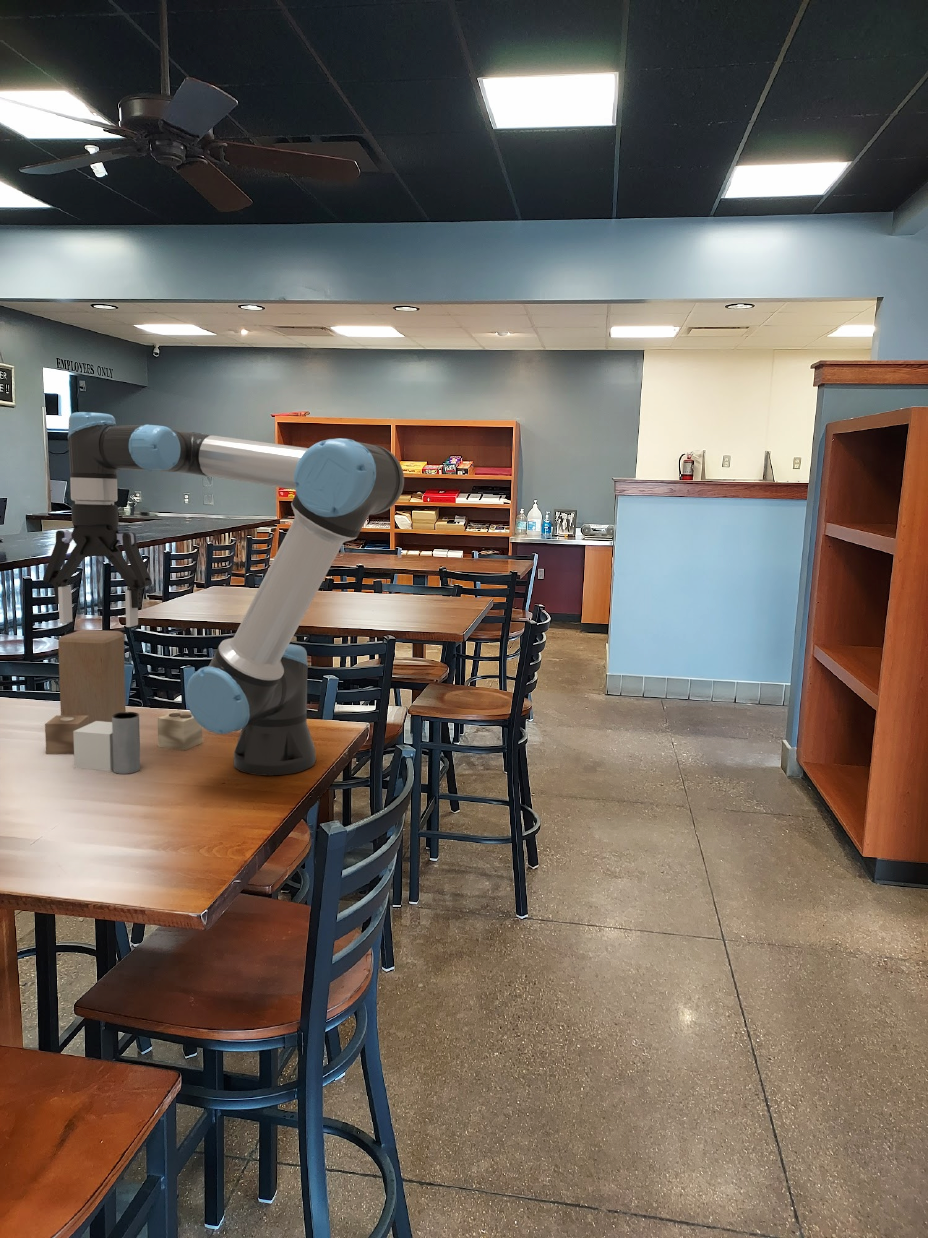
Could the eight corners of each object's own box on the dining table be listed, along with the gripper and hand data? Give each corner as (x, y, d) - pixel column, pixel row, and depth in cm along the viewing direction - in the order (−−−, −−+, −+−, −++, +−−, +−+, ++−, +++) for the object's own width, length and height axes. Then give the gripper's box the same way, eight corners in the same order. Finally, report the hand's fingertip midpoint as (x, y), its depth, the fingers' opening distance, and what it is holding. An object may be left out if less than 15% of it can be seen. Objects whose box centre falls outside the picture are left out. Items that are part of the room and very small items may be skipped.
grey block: (131, 759, 153) (130, 723, 152) (110, 771, 146) (109, 734, 145) (97, 756, 154) (96, 721, 153) (74, 768, 147) (73, 731, 146)
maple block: (202, 742, 165) (202, 713, 164) (183, 751, 159) (183, 720, 158) (177, 739, 167) (176, 709, 166) (158, 747, 161) (157, 717, 160)
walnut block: (89, 744, 161) (88, 714, 160) (79, 754, 155) (78, 723, 154) (57, 745, 160) (56, 714, 159) (46, 754, 154) (44, 723, 153)
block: (107, 733, 168) (104, 638, 165) (59, 731, 168) (55, 636, 165) (127, 720, 178) (125, 630, 175) (82, 718, 178) (79, 628, 175)
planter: (145, 768, 148) (144, 714, 147) (126, 776, 144) (125, 719, 143) (127, 764, 150) (126, 710, 149) (107, 771, 146) (106, 716, 145)
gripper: (170, 505, 145) (172, 624, 148) (44, 500, 148) (49, 617, 151) (149, 505, 138) (152, 630, 141) (16, 500, 141) (22, 623, 144)
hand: (99, 624), depth 146 cm, fingers open, 12 cm apart
